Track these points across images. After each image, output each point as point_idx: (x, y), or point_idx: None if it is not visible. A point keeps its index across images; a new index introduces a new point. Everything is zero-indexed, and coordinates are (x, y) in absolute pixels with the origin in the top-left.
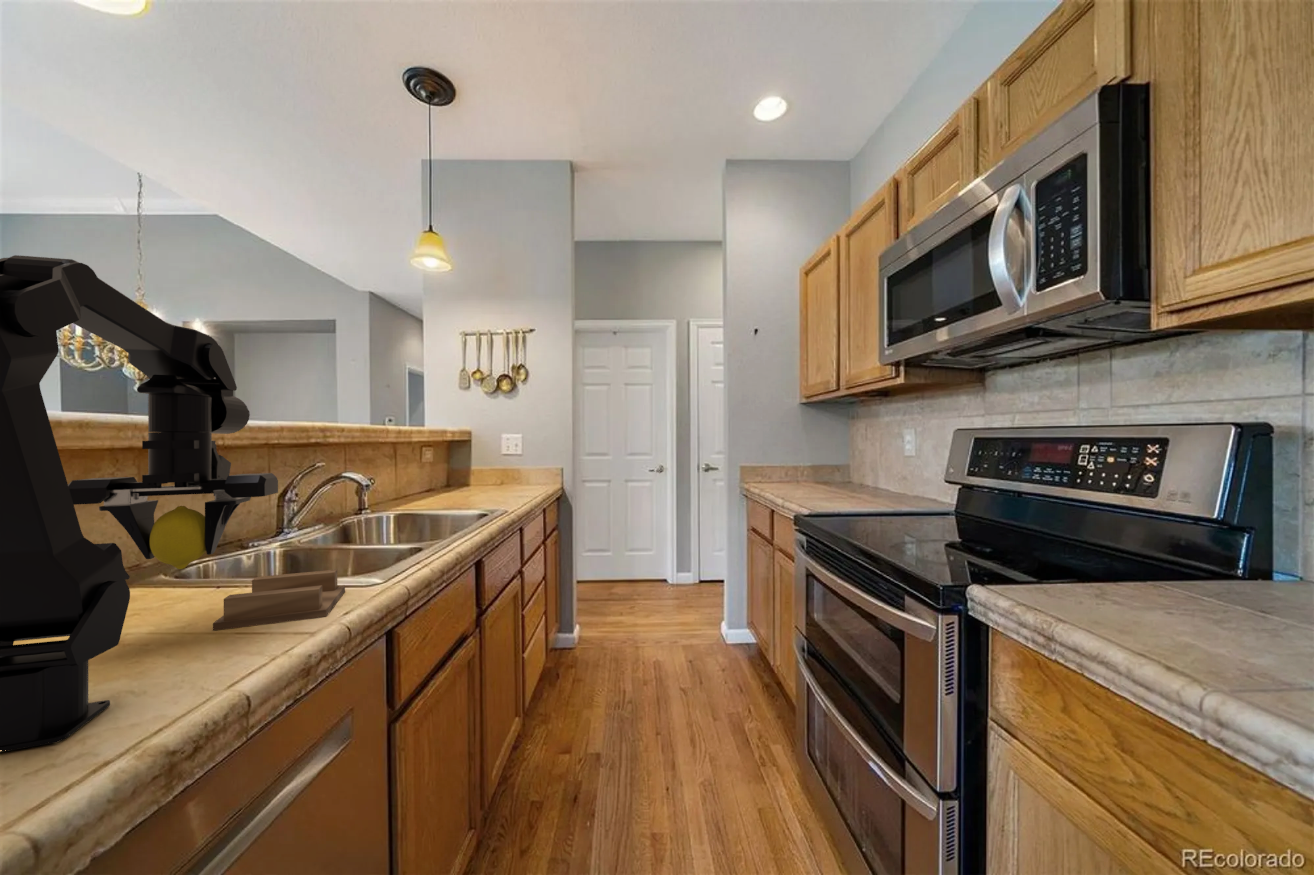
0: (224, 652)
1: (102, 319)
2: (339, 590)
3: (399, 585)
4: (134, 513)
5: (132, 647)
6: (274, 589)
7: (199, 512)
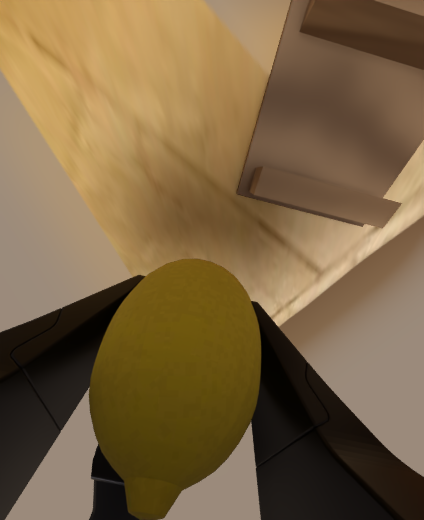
0: (248, 276)
1: None
2: None
3: None
4: (27, 477)
5: (168, 203)
6: (352, 30)
7: (234, 442)
